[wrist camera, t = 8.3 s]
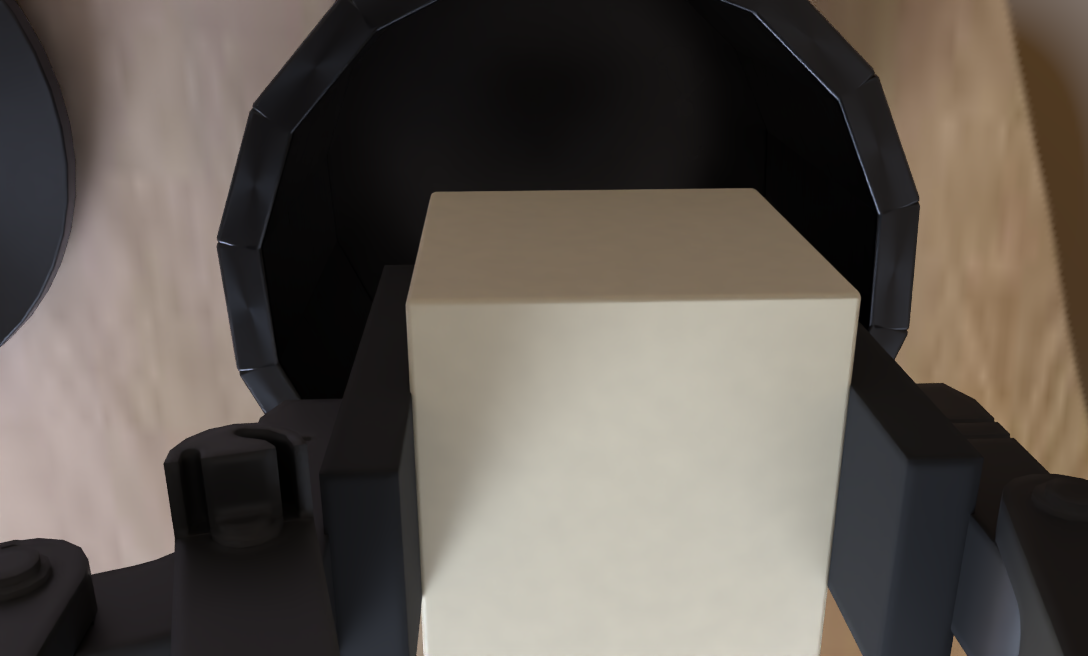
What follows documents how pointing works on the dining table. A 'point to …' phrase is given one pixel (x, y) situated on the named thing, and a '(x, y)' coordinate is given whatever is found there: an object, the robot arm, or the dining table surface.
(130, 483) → the dining table surface
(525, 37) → the pot
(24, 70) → the lid
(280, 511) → the robot arm
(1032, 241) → the dining table surface
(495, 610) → the block
